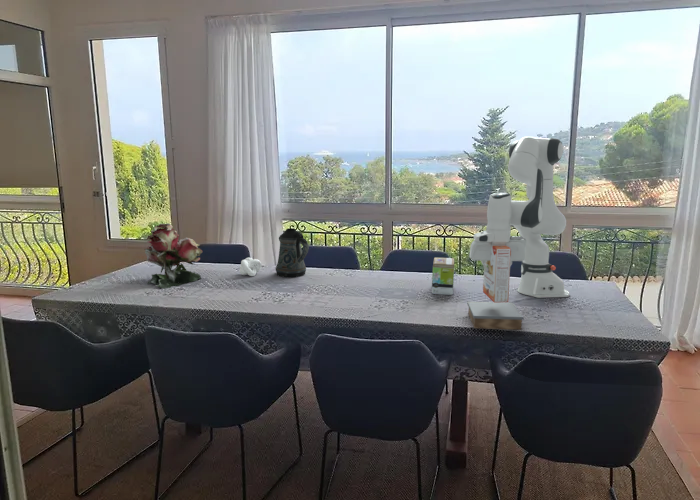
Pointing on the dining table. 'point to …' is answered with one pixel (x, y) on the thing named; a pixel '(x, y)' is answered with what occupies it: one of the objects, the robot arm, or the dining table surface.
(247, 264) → the white knot sculpture
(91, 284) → the dining table surface
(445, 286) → the tea box
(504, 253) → the cracker box
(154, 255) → the rose bouquet
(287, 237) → the beer stein
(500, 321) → the podium
